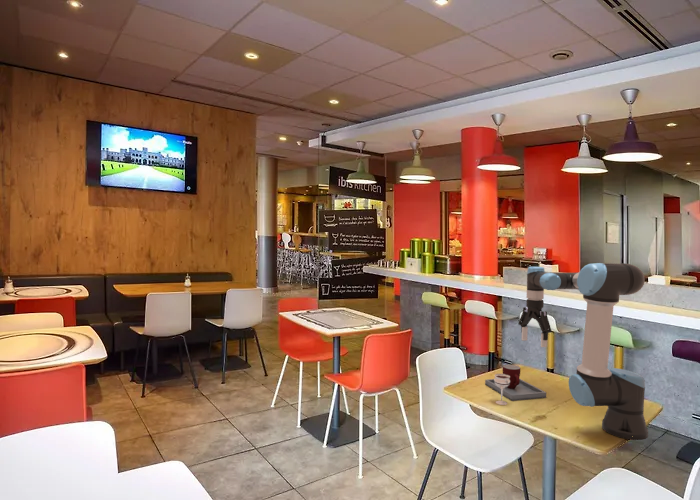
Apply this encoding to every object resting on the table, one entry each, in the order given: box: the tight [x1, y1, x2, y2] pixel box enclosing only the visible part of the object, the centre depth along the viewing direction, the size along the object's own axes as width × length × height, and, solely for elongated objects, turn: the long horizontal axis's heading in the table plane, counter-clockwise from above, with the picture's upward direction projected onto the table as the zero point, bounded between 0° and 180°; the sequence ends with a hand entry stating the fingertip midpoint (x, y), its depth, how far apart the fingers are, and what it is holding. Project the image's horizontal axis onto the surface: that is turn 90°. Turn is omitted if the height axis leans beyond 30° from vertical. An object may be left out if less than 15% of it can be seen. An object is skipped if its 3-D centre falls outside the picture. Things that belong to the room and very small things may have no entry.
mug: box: [502, 364, 521, 389], centre depth 218 cm, size 11×8×10 cm
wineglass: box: [493, 373, 510, 406], centre depth 201 cm, size 7×7×12 cm
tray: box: [484, 377, 547, 402], centre depth 216 cm, size 22×18×2 cm
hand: (533, 343), depth 216 cm, fingers open, 13 cm apart
